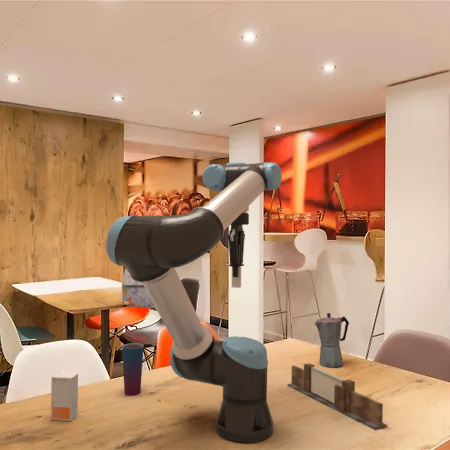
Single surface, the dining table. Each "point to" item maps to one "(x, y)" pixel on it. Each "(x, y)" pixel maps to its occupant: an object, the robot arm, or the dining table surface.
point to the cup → (132, 368)
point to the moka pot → (331, 340)
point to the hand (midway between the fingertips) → (236, 287)
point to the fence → (342, 398)
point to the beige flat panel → (324, 383)
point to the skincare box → (64, 396)
